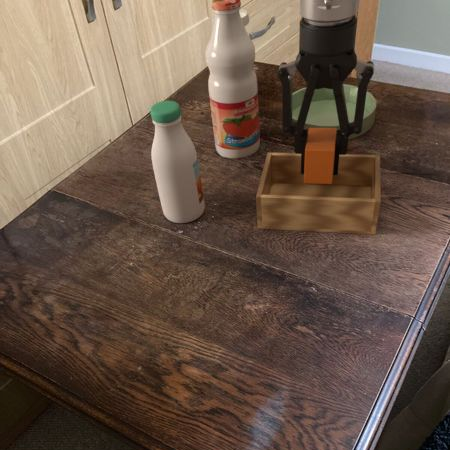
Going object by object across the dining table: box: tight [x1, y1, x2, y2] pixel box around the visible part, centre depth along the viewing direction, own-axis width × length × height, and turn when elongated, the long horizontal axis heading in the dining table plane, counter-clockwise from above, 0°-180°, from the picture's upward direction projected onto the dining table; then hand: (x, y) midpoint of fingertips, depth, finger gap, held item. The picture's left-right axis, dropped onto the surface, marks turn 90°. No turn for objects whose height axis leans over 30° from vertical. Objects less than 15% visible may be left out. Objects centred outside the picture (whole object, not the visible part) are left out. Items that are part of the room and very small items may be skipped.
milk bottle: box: [150, 100, 206, 224], centre depth 83 cm, size 8×8×20 cm
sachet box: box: [304, 128, 337, 184], centre depth 80 cm, size 4×7×6 cm, turn 169°
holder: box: [255, 151, 382, 236], centre depth 85 cm, size 20×14×7 cm
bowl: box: [292, 83, 377, 141], centre depth 106 cm, size 19×19×4 cm
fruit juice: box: [204, 0, 261, 159], centre depth 93 cm, size 9×9×28 cm
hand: (319, 169), depth 82 cm, fingers closed on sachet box, 4 cm apart
